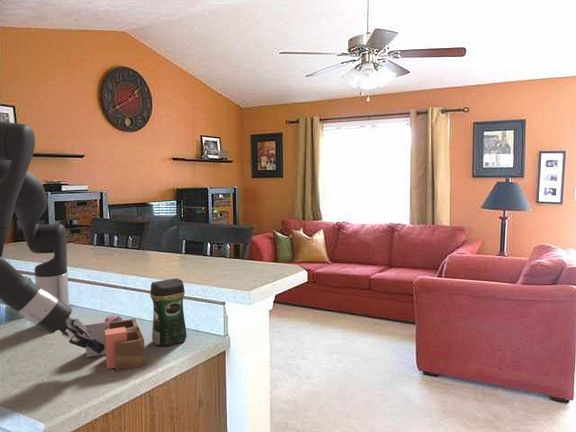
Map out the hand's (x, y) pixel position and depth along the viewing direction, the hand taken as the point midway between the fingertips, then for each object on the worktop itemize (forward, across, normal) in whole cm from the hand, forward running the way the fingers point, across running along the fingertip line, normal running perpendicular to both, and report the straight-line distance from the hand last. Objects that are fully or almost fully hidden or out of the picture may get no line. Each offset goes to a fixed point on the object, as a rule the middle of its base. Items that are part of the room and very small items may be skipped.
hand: (102, 349), depth 113 cm
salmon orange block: (+6, 0, +1) cm, 6 cm away
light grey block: (+2, +10, +4) cm, 11 cm away
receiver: (+8, +5, -1) cm, 9 cm away
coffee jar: (+17, +10, -10) cm, 22 cm away
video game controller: (+5, +24, +2) cm, 24 cm away
